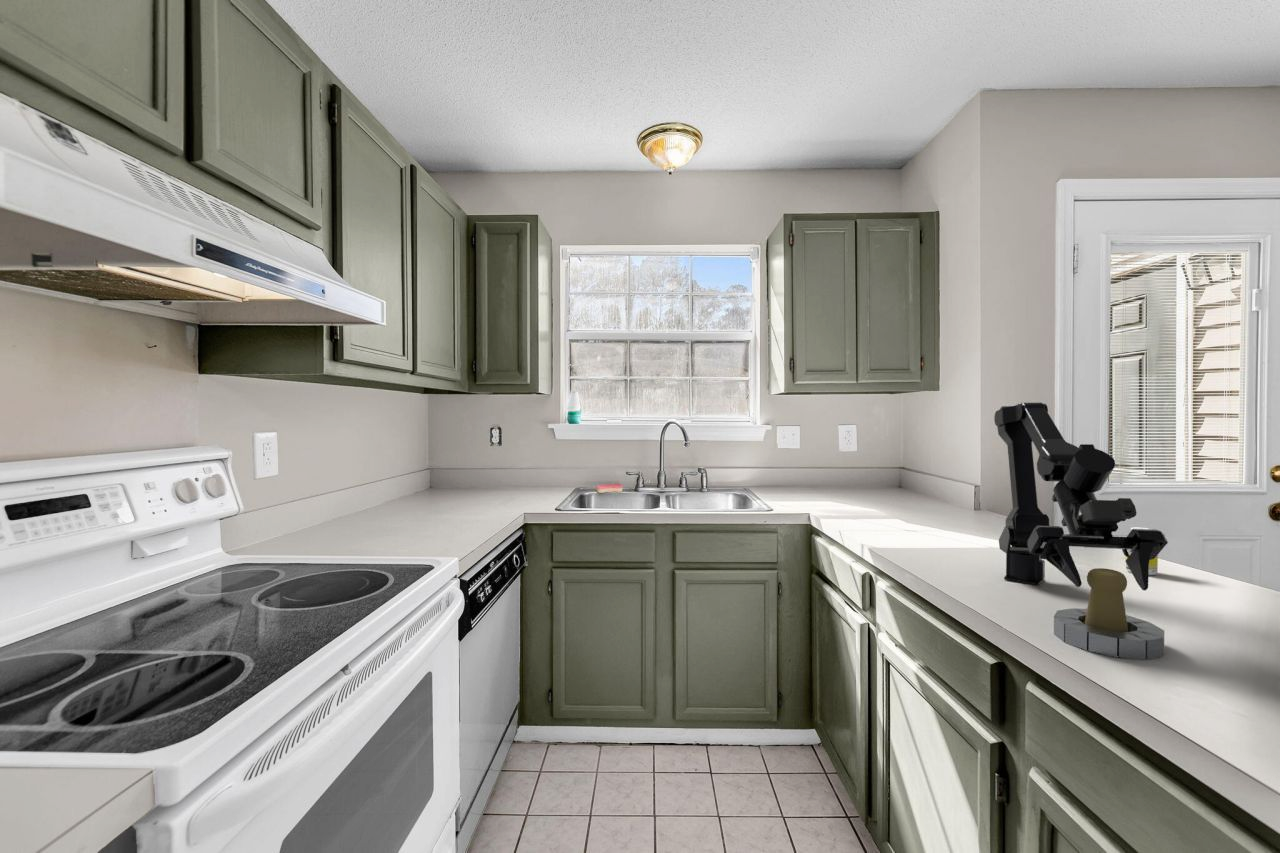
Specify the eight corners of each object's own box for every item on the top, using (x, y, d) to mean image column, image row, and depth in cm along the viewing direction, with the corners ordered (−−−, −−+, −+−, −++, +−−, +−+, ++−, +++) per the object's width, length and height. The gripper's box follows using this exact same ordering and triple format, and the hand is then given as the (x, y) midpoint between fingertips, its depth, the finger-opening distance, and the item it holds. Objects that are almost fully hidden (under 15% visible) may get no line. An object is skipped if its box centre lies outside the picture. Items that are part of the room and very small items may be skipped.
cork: (1076, 627, 100) (1077, 564, 100) (1117, 630, 99) (1118, 566, 98) (1093, 641, 94) (1094, 573, 94) (1137, 644, 93) (1138, 576, 93)
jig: (1048, 642, 96) (1048, 624, 96) (1061, 619, 106) (1061, 603, 106) (1162, 667, 87) (1162, 647, 86) (1165, 639, 97) (1165, 621, 97)
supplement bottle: (1163, 575, 133) (1164, 530, 133) (1144, 577, 132) (1145, 532, 132) (1138, 568, 138) (1138, 525, 138) (1119, 570, 137) (1120, 527, 137)
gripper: (1034, 479, 102) (1063, 558, 91) (1161, 481, 97) (1206, 565, 87) (1016, 516, 110) (1041, 592, 99) (1133, 519, 105) (1171, 600, 95)
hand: (1112, 587), depth 95 cm, fingers open, 9 cm apart
